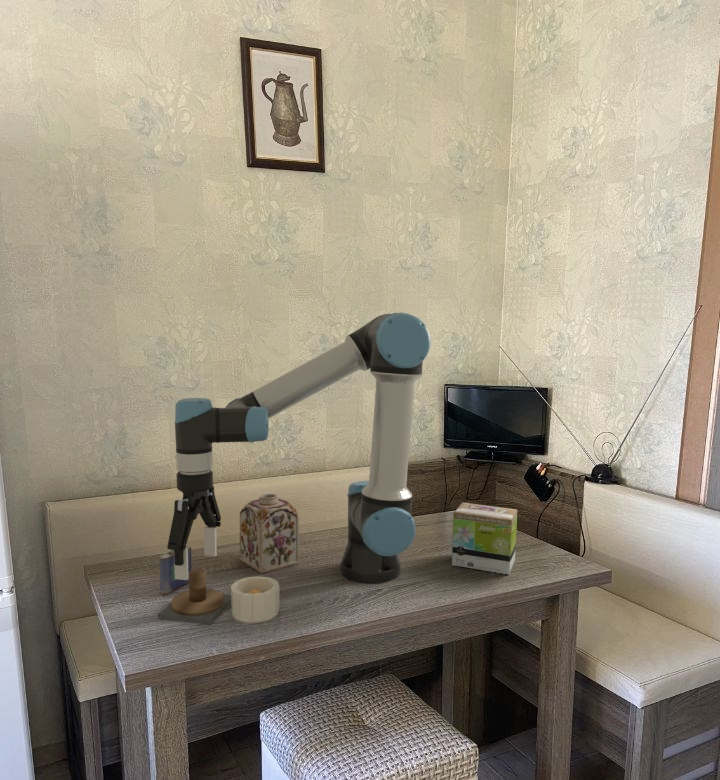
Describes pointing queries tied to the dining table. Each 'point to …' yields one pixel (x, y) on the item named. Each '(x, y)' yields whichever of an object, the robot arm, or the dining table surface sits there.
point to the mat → (205, 618)
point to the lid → (197, 596)
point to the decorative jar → (269, 534)
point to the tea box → (484, 537)
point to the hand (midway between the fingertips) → (196, 566)
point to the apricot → (255, 591)
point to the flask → (171, 573)
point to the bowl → (255, 600)
